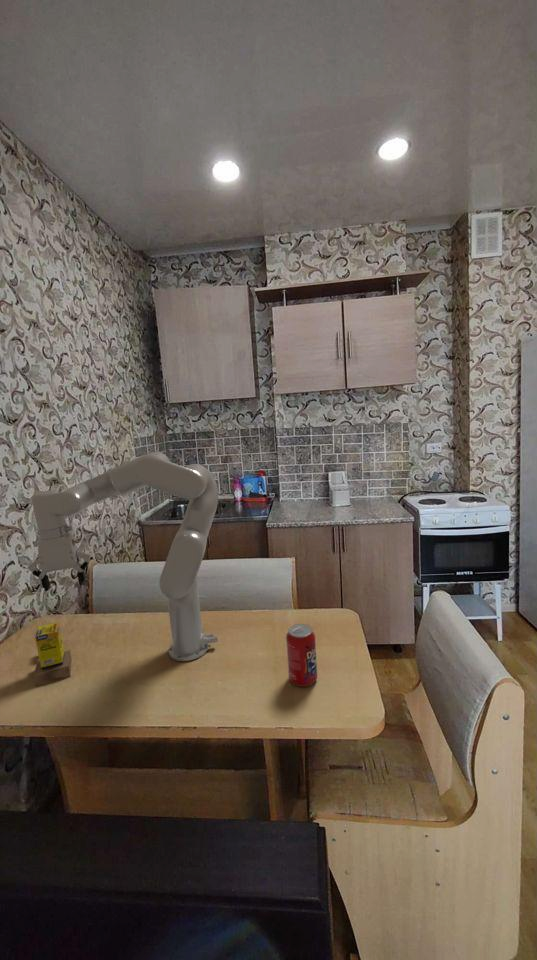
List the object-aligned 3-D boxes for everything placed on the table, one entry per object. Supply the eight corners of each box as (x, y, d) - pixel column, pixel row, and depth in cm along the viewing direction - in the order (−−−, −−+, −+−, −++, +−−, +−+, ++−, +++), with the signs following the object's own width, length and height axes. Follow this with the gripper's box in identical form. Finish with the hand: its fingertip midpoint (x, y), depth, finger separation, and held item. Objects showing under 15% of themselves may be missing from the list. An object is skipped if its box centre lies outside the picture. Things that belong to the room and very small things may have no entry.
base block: (71, 661, 132) (69, 650, 131) (70, 678, 124) (68, 666, 123) (40, 670, 129) (37, 658, 128) (36, 687, 120) (34, 675, 120)
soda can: (284, 675, 118) (281, 626, 115) (309, 667, 120) (306, 619, 118) (296, 692, 110) (292, 641, 108) (322, 683, 113) (319, 633, 110)
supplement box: (63, 664, 124) (57, 631, 122) (41, 670, 122) (34, 636, 120) (65, 653, 129) (59, 621, 127) (43, 659, 127) (37, 626, 125)
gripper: (87, 524, 128) (97, 576, 131) (26, 533, 125) (38, 586, 128) (81, 531, 121) (92, 586, 124) (17, 541, 118) (29, 597, 121)
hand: (65, 586), depth 126 cm, fingers open, 9 cm apart
